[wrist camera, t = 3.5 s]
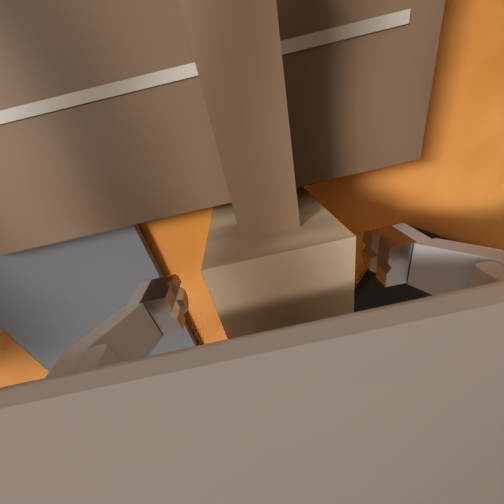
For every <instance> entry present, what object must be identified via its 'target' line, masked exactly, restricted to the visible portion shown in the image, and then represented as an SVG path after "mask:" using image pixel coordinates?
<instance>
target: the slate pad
mask: <svg viewBox="0 0 504 504" xmlns="http://www.w3.org/2000/svg"><path fill="white" fill-rule="evenodd" d="M159 277H164V276H163V274H162V272H161V270H160V268H159V266H158V264H157V262H156V260H155V258H154V256H153V254H152V252H151V250H150V248H149V246H148V244H147V242H146V240H145V238H144V236H143V234H142V232H141V230H140V228H139V226H138V224H135V225H131V226H127V227H122V228H118V229H113V230H109V231H105V232H100V233H96V234H92V235H87V236H83V237H79V238H74V239H70V240H66V241H61V242H57V243H52V244H48V245H44V246H39V247H35V248H31V249H26V250H22V251H18V252H13V253H9V254H4V255H0V328H1V329H2V330H3V331H4V332H5V333H6V334H8V335H9V336H10V337H11V338H12V339H13V340H14V341H15V342H17V343H18V344H19V345H20V346H21V347H22V348H23V349H24V350H26V351H27V352H28V353H29V354H30V355H31V356H32V357H33V358H34V359H36V360H37V361H38V362H39V363H40V364H41V365H42V366H43V367H45V368H46V369H47V370H48V371H49V372H50V371H51V369H52V368H53V366H54V365H55V364H56V362H57V361H58V360H59V358H60V357H61V355H62V354H63V353H64V351H66V350H67V349H68V348H70V347H71V346H72V345H74V344H75V343H76V342H78V341H79V340H80V339H81V338H83V337H84V336H85V335H87V334H88V333H89V332H91V331H92V330H93V329H95V328H96V327H97V326H99V325H100V324H101V323H102V322H104V321H105V320H106V319H108V318H109V317H110V316H112V315H113V314H114V313H116V312H117V311H118V310H120V309H121V308H122V307H126V306H127V304H128V302H129V301H130V299H131V297H132V295H133V294H134V292H135V290H136V288H137V287H138V285H139V283H140V282H142V281H145V280H149V279H154V278H159ZM194 346H198V344H197V342H196V340H195V338H194V336H193V334H192V332H191V330H190V328H189V326H188V324H187V322H186V320H185V324H184V328H183V331H180V332H176V333H172V334H168V335H164V336H163V337H162V339H161V340H160V341H159V342H158V344H157V345H156V346H155V348H154V349H153V350H152V351H151V353H150V354H149V355H148V356H152V355H156V354H161V353H166V352H171V351H175V350H180V349H185V348H189V347H194Z"/></svg>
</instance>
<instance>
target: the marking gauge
mask: <svg viewBox="0 0 504 504" xmlns="http://www.w3.org/2000/svg"><path fill="white" fill-rule="evenodd" d="M179 3H180V7H181V10H182V14H183V18H184V22H185V26H186V30H187V34H188V37H189V41H190V45H191V49H192V53H193V57H194V60H195V64H196V68H197V72H198V76H199V80H200V84H201V87H202V91H203V95H204V99H205V103H206V107H207V110H208V114H209V118H210V122H211V126H212V130H213V134H214V137H215V141H216V145H217V149H218V153H219V157H220V160H221V164H222V168H223V172H224V176H225V180H226V184H227V187H228V191H229V195H230V199H231V203H227V204H222V205H218V206H214V208H213V213H212V218H211V223H210V228H209V233H208V238H207V243H206V248H205V253H204V258H203V264H202V269H201V271H202V274H203V277H204V279H205V282H206V284H207V287H208V289H209V292H210V294H211V297H212V299H213V302H214V305H215V307H216V310H217V312H218V315H219V317H220V320H221V322H222V325H223V328H224V330H225V333H226V335H227V338H228V339H232V338H236V337H241V336H246V335H250V334H255V333H260V332H264V331H269V330H274V329H278V328H283V327H288V326H292V325H297V324H302V323H307V322H311V321H316V320H321V319H325V318H330V317H335V316H339V315H344V314H349V313H353V312H354V289H355V257H356V236H355V235H354V234H353V233H352V232H351V231H350V230H349V229H347V228H346V227H345V226H344V225H343V224H342V223H341V222H340V221H339V220H338V219H337V218H335V217H334V216H333V215H332V214H331V213H330V212H329V211H328V210H327V209H326V208H325V207H323V206H322V205H321V204H320V203H319V202H318V201H317V200H316V199H315V198H314V197H313V196H311V195H310V194H309V193H308V192H307V191H306V190H305V189H304V188H303V187H302V186H301V187H297V188H296V183H295V173H294V164H293V155H292V145H291V136H290V127H289V117H288V108H287V98H286V89H285V80H284V70H283V61H282V52H281V42H280V33H279V24H278V14H277V5H276V0H179Z"/></svg>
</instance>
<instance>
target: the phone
mask: <svg viewBox="0 0 504 504" xmlns="http://www.w3.org/2000/svg"><path fill="white" fill-rule="evenodd" d="M414 229H416V230H417V231H419V232H421V233H423V234H424V235H426V236H428V237H430V238H432V239H434V238H439V239H444V240H449V239H446V238H444V237H441V236H438V235H435V234H433V233H430V232H427V231H424V230H421V229H418V228H414ZM450 241H452V240H450ZM456 242H457V241H456ZM428 296H433V295H431V294H429V293H426V292H424V291H422V290H420V289H417V288H415V287H413V286H411V285H408V284H407V283H404V284H399V285H394V286H388V287H385V286H384V285H383V284H382V283H381V282H380V281H379V280H378V279H377V278H376V273H375V272H372V271H370V270H369V269H368V270H367V272H366V273H365V275H364V276H363V278H362V279H361V280H360V282H359V283H358V285H357V286H356V288H355V289H354V312H358V311H363V310H367V309H372V308H377V307H381V306H386V305H391V304H395V303H400V302H405V301H410V300H414V299H419V298H424V297H428Z"/></svg>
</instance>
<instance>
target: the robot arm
mask: <svg viewBox="0 0 504 504" xmlns="http://www.w3.org/2000/svg"><path fill="white" fill-rule="evenodd" d="M363 242H364V243H365V244H366V247H365V248H364V249H363V260H364V263H365V265H366V267H367V268H368V269H369V270H370V271H372V272H375V273H376V278H377V279H378V280H379V281H380V282H381V283H382V284H383V285H384V286H385V287H388V286H394V285H399V284H404V283H407V284H408V285H411V286H413V287H415V288H417V289H420V290H422V291H424V292H426V293H429V294H431V295H433V296H428V297H424V298H419V299H414V300H410V301H405V302H400V303H395V304H391V305H386V306H381V307H377V308H372V309H367V310H363V311H358V312H353V313H349V314H344V315H339V316H335V317H330V318H325V319H321V320H316V321H311V322H307V323H302V324H297V325H292V326H288V327H283V328H278V329H274V330H269V331H264V332H260V333H255V334H250V335H246V336H241V337H236V338H232V339H227V340H222V341H217V342H213V343H208V344H203V345H199V346H194V347H189V348H185V349H180V350H175V351H171V352H166V353H161V354H156V355H152V356H148V355H149V354H150V353H151V351H152V350H153V349H154V348H155V346H156V345H157V344H158V342H159V341H160V340H161V339H162V337H163V336H164V335H168V334H172V333H176V332H180V331H183V328H184V324H185V319H186V318H185V316H184V314H185V313H186V312H187V311H188V297H187V294H186V291H185V290H184V289H183V288H181V287H180V284H181V281H180V279H179V277H178V275H176V274H174V275H169V276H164V277H159V278H154V279H149V280H145V281H142V282H140V283H139V285H138V287H137V288H136V290H135V292H134V294H133V295H132V297H131V299H130V301H129V302H128V304H127V306H126V307H122V308H121V309H120V310H118V311H117V312H116V313H114V314H113V315H112V316H110V317H109V318H108V319H106V320H105V321H104V322H102V323H101V324H100V325H99V326H97V327H96V328H95V329H93V330H92V331H91V332H89V333H88V334H87V335H85V336H84V337H83V338H81V339H80V340H79V341H78V342H76V343H75V344H74V345H72V346H71V347H70V348H68V349H67V350H66V351H64V353H63V354H62V355H61V357H60V358H59V360H58V361H57V362H56V364H55V365H54V366H53V368H52V369H51V371H50V372H49V373H48V375H47V376H46V378H44V379H39V380H35V381H30V382H25V383H21V384H16V385H11V386H6V387H2V388H0V504H504V250H502V249H496V248H491V247H485V246H479V245H473V244H467V243H462V242H456V241H450V240H444V239H439V238H434V239H432V238H430V237H428V236H426V235H424V234H423V233H421V232H419V231H417V230H416V229H414V228H412V227H410V226H409V225H407V224H405V223H399V224H395V225H392V226H388V227H384V228H380V229H376V230H372V231H368V232H365V233H364V237H363Z"/></svg>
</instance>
